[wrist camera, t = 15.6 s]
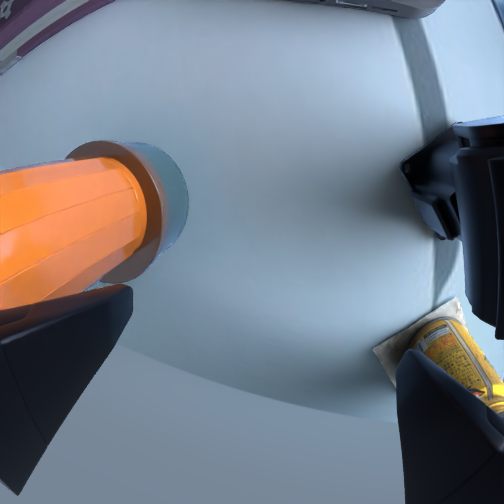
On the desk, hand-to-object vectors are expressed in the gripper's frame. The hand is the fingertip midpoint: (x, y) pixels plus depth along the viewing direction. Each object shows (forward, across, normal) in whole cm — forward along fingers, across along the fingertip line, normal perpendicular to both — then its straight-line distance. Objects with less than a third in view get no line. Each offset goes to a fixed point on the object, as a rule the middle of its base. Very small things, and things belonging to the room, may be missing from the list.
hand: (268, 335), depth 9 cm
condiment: (+13, -15, +8) cm, 21 cm away
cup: (+8, +11, 0) cm, 14 cm away
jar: (+13, +12, 0) cm, 17 cm away
